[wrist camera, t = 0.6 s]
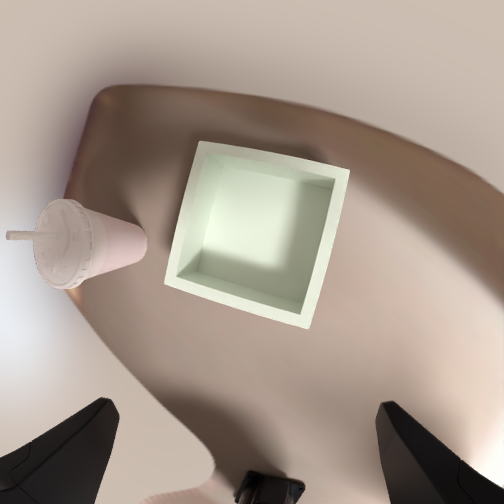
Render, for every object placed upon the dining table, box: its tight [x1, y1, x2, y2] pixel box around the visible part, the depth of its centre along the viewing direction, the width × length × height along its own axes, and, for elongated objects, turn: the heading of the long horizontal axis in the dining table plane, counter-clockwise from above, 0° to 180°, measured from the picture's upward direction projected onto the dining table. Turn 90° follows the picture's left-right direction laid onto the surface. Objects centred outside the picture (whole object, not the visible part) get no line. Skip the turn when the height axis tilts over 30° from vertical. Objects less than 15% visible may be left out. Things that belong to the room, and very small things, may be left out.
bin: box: [164, 141, 350, 329], centre depth 21 cm, size 11×11×4 cm
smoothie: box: [6, 199, 147, 289], centre depth 20 cm, size 6×6×14 cm
